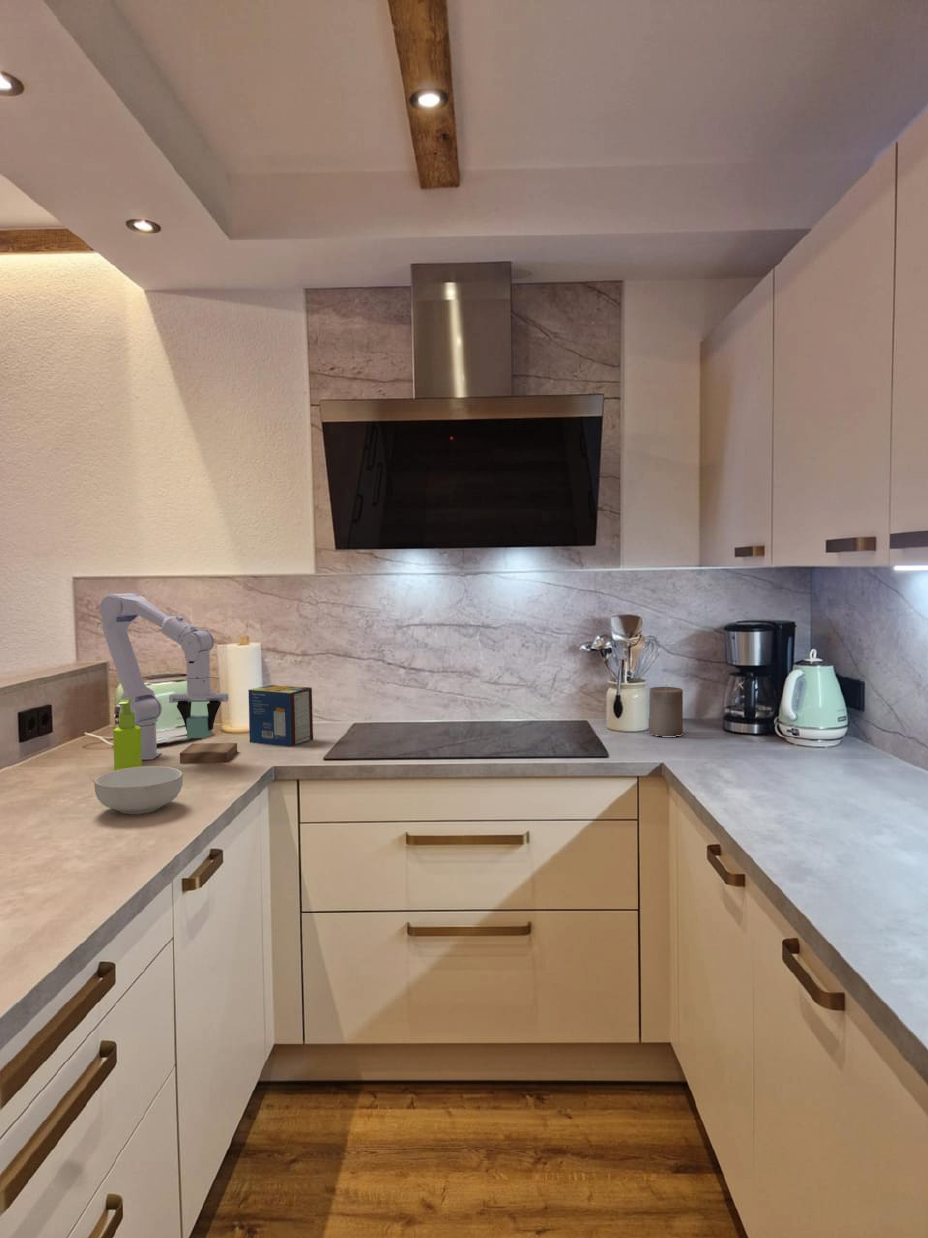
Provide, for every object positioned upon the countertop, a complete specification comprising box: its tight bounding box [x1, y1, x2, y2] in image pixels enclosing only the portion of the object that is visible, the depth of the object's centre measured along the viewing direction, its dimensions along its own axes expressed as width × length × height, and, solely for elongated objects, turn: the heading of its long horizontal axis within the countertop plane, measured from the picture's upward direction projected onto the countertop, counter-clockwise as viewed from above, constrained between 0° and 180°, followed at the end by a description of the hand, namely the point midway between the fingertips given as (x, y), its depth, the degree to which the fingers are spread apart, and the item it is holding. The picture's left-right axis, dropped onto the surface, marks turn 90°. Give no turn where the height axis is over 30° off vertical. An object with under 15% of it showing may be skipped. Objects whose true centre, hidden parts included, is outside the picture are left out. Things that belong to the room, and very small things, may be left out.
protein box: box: [247, 684, 314, 747], centre depth 233 cm, size 10×15×16 cm
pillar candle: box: [648, 684, 684, 736], centre depth 237 cm, size 10×10×15 cm
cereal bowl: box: [93, 765, 184, 815], centre depth 166 cm, size 17×17×7 cm
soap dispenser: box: [112, 698, 143, 771], centre depth 185 cm, size 6×7×20 cm
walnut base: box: [179, 742, 238, 764], centre depth 213 cm, size 12×12×3 cm
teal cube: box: [186, 714, 213, 739], centre depth 207 cm, size 5×5×5 cm
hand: (199, 729), depth 207 cm, fingers closed on teal cube, 5 cm apart
